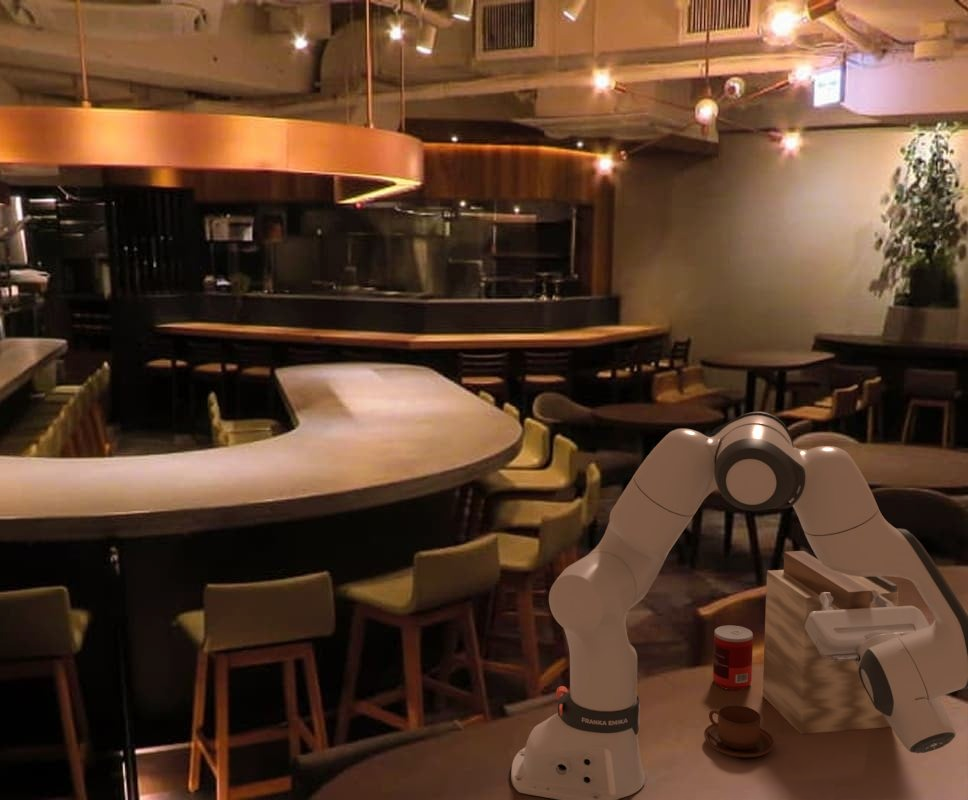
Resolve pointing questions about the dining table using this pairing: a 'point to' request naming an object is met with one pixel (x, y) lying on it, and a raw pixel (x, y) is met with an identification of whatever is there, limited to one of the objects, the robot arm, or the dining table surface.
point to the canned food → (732, 657)
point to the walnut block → (826, 581)
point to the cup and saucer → (738, 732)
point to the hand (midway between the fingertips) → (847, 593)
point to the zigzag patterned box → (813, 662)
